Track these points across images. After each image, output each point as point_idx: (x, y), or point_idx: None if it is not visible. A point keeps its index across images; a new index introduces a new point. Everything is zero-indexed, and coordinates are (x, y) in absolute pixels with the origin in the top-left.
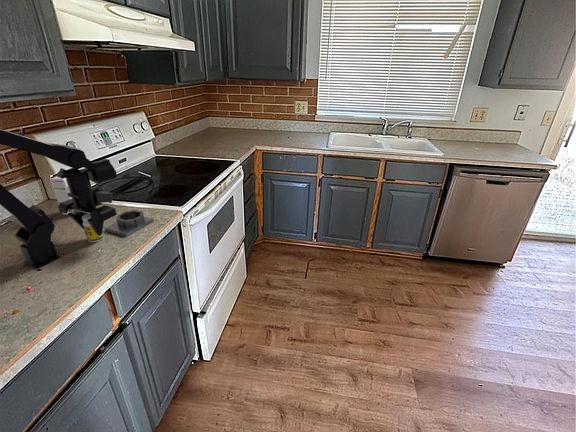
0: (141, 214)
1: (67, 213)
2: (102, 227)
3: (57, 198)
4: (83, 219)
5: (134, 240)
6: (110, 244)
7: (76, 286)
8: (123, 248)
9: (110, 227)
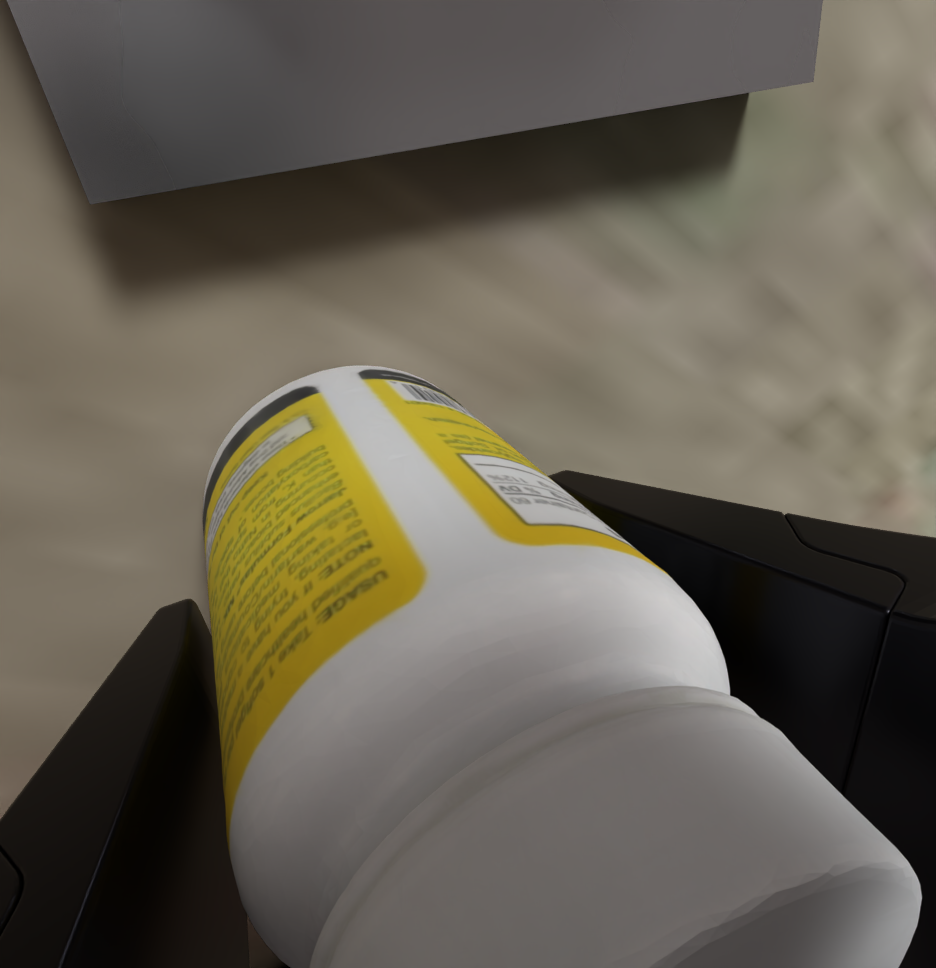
0: None
1: None
2: (723, 515)
3: None
4: None
5: (923, 105)
6: (698, 412)
7: None
8: (899, 349)
9: (225, 69)
